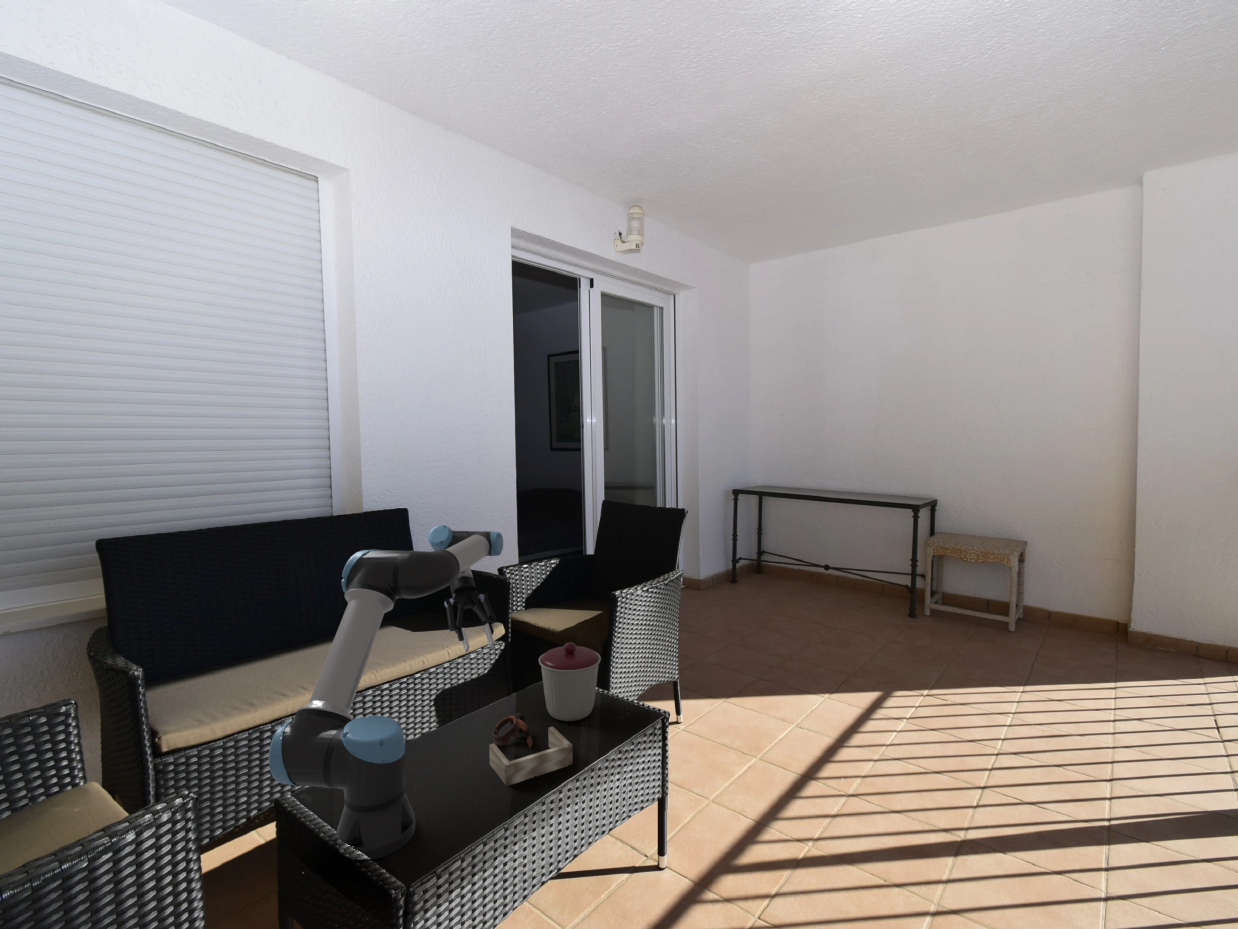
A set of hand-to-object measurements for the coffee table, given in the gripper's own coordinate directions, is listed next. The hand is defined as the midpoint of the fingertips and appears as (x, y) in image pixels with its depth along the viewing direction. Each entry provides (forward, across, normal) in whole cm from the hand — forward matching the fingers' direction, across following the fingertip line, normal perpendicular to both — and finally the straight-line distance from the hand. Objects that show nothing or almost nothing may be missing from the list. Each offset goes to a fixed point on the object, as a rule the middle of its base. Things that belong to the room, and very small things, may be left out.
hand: (479, 647), depth 184 cm
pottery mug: (+31, -1, +4) cm, 31 cm away
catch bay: (+39, 0, +13) cm, 41 cm away
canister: (+26, -21, -1) cm, 33 cm away
